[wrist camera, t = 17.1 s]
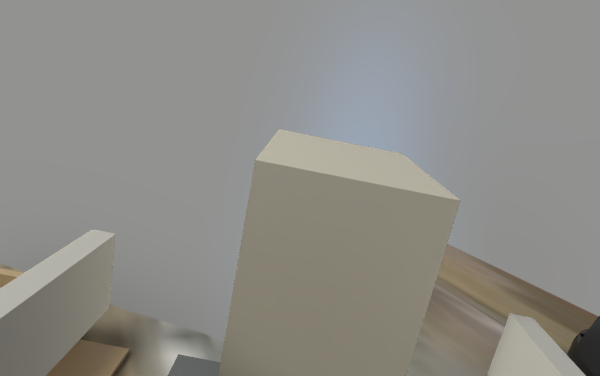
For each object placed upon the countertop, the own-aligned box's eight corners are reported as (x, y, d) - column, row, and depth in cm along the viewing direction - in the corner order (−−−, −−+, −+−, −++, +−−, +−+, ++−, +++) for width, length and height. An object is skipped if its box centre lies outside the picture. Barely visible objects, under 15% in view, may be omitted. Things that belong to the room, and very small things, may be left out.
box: (331, 421, 23) (402, 153, 19) (339, 589, 16) (460, 200, 12) (229, 402, 23) (279, 129, 19) (187, 560, 16) (255, 159, 12)
